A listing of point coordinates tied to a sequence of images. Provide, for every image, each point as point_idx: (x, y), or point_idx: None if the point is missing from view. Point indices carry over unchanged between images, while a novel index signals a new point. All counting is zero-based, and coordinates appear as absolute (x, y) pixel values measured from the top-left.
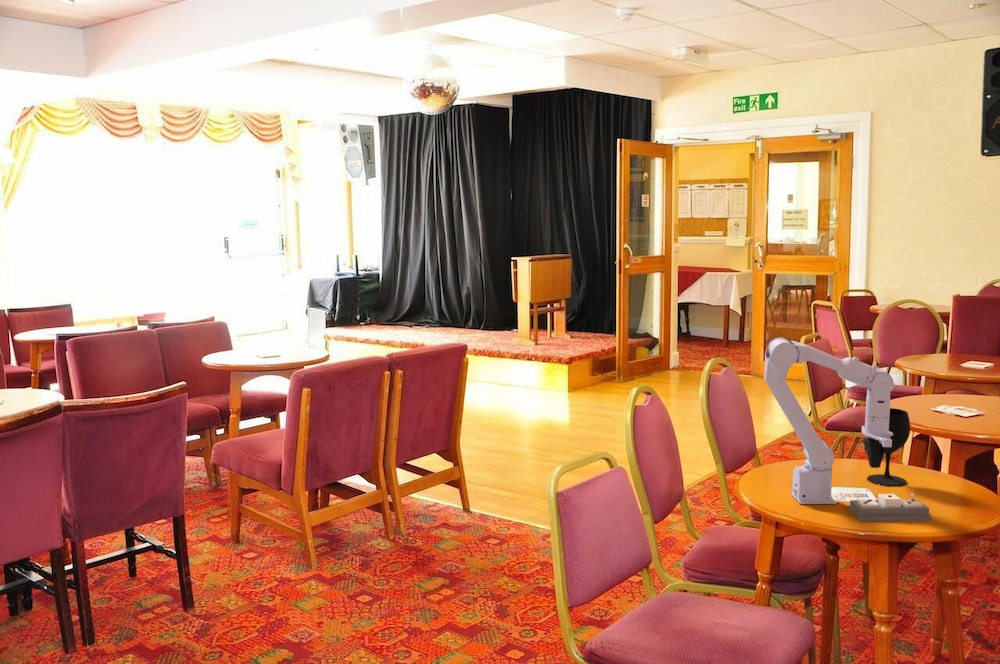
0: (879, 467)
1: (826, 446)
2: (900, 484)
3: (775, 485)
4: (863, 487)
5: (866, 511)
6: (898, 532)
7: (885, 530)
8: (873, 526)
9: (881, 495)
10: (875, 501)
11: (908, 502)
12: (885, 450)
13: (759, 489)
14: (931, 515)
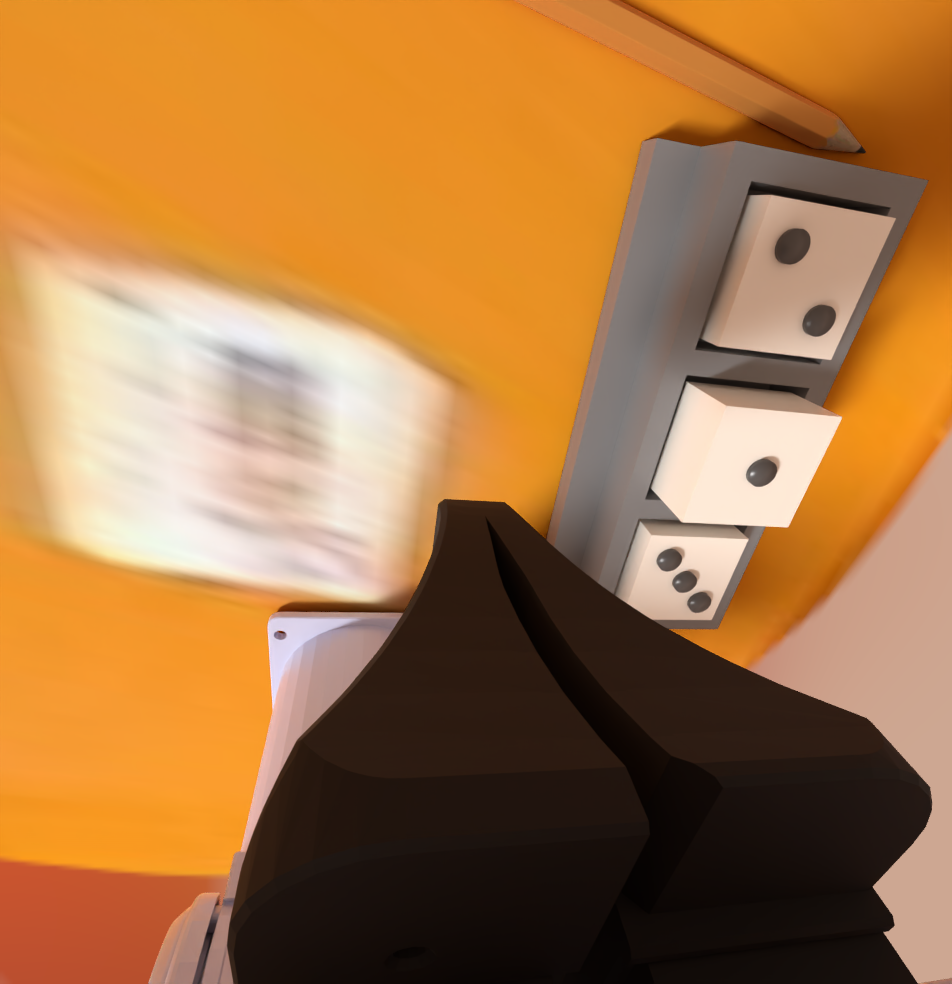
0: (505, 503)
1: None
2: None
3: (101, 778)
4: (22, 279)
5: None
6: (898, 490)
7: (848, 535)
8: (784, 563)
9: (717, 516)
10: (646, 506)
11: (825, 333)
12: (706, 665)
13: (190, 834)
14: (840, 120)
